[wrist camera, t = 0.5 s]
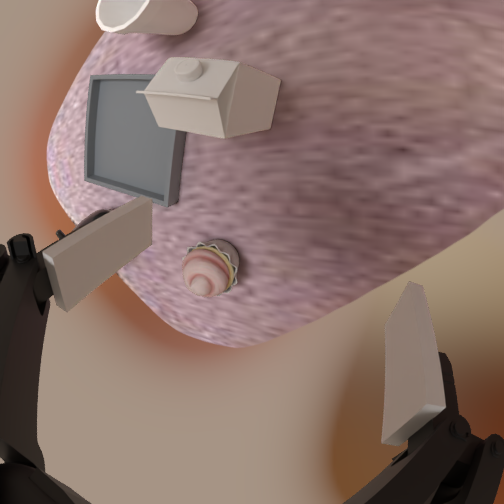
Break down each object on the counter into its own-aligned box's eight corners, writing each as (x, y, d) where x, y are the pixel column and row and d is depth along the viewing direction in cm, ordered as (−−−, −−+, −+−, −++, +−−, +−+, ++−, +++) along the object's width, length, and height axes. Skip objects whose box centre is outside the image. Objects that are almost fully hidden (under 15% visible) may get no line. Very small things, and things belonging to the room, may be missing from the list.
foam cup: (152, 47, 35) (91, 39, 24) (157, -1, 31) (101, -19, 20) (205, 40, 33) (149, 21, 22) (210, -12, 28) (159, -42, 17)
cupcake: (219, 218, 45) (186, 245, 37) (260, 262, 46) (236, 298, 38) (186, 250, 50) (153, 279, 42) (223, 289, 51) (197, 324, 43)
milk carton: (270, 129, 36) (203, 145, 20) (222, 119, 38) (131, 131, 22) (281, 79, 33) (219, 53, 17) (231, 71, 34) (142, 52, 18)
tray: (102, 75, 40) (90, 75, 37) (195, 77, 36) (184, 76, 33) (95, 176, 50) (84, 180, 47) (177, 201, 46) (167, 207, 44)
